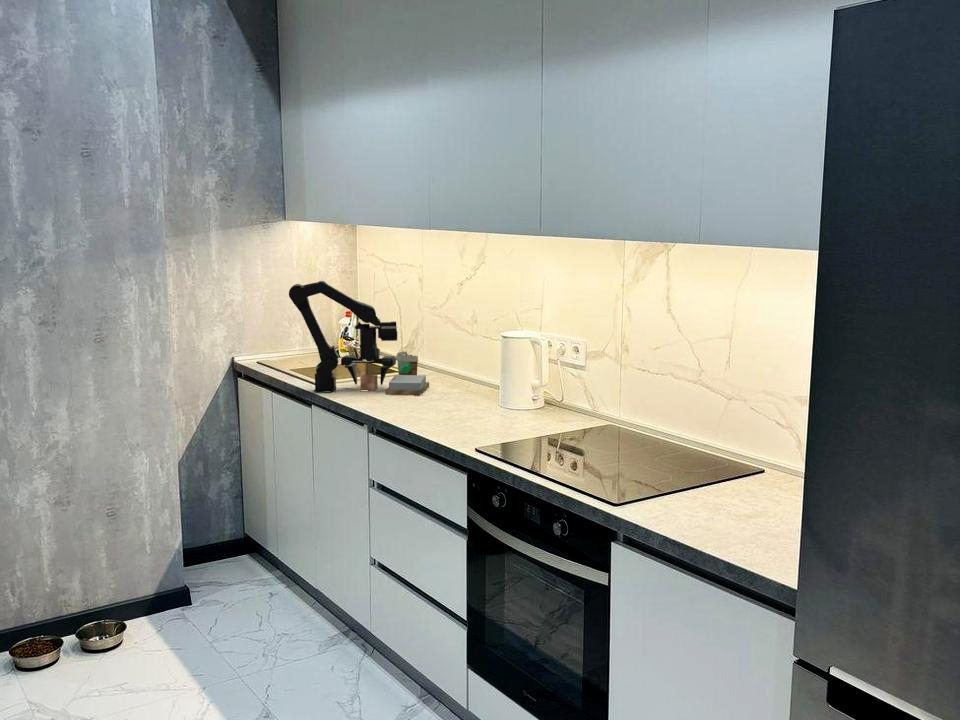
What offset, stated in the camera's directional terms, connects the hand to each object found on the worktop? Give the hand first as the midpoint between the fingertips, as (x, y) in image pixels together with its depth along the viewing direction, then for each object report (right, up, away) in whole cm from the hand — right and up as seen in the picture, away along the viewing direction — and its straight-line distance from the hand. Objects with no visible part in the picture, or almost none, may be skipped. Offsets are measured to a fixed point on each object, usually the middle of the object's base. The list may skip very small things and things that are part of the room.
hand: (368, 384), depth 348 cm
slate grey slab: (+14, 0, -2) cm, 14 cm away
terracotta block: (0, -2, 0) cm, 2 cm away
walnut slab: (+14, -3, -1) cm, 14 cm away
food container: (+11, +1, +18) cm, 21 cm away
